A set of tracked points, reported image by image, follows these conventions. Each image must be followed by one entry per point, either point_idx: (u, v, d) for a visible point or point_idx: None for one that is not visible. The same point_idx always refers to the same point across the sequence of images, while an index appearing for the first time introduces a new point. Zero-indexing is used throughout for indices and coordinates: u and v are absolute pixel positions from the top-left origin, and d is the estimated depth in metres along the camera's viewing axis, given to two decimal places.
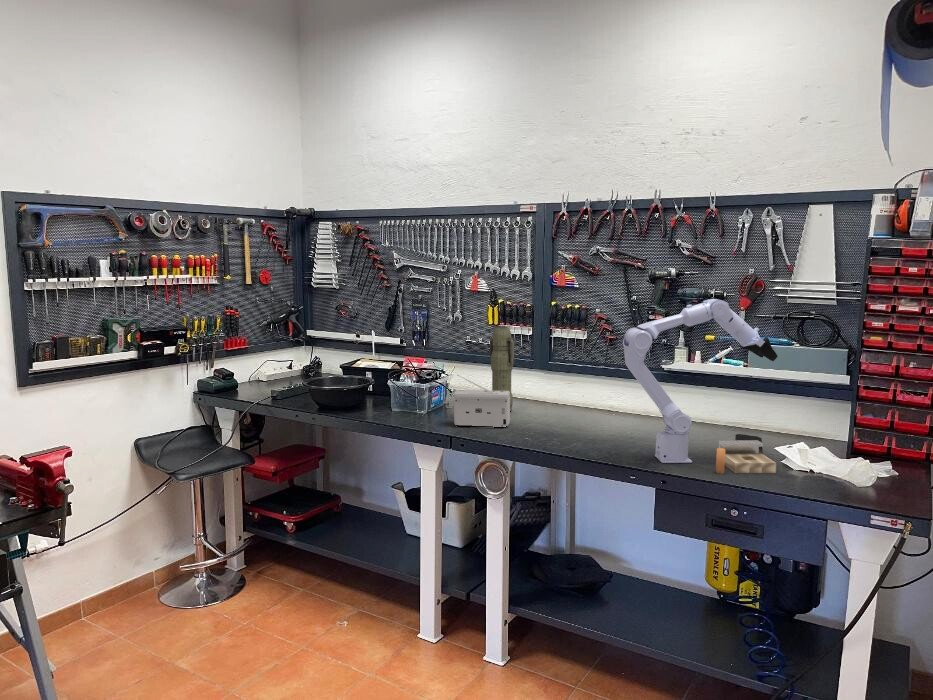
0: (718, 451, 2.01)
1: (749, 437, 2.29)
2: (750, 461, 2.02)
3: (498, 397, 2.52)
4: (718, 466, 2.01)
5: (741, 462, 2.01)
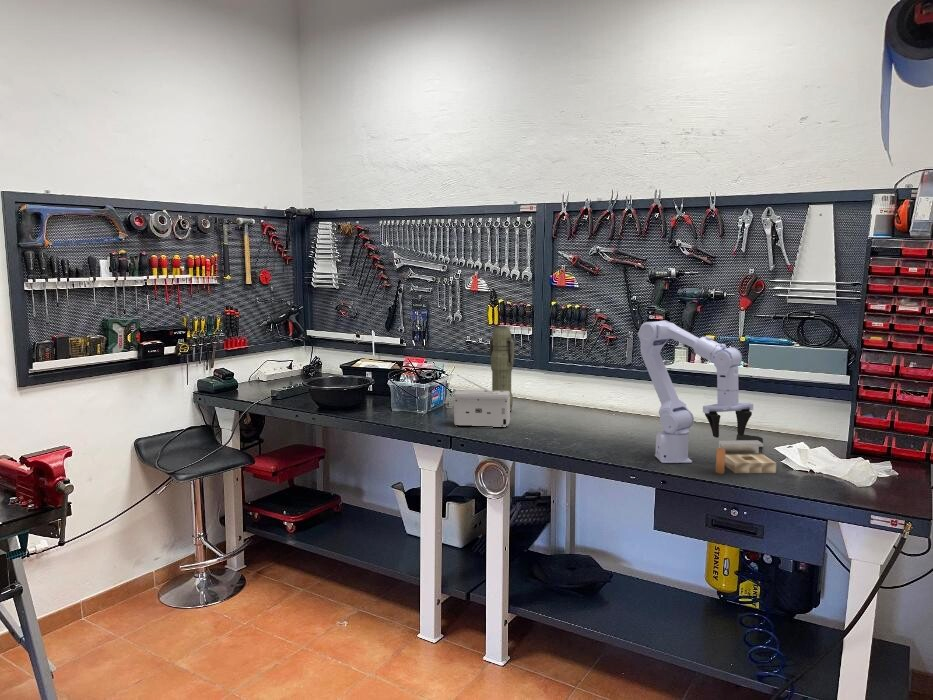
0: (718, 451, 2.01)
1: (750, 437, 2.29)
2: (750, 461, 2.02)
3: (498, 397, 2.52)
4: (718, 466, 2.01)
5: (741, 462, 2.01)
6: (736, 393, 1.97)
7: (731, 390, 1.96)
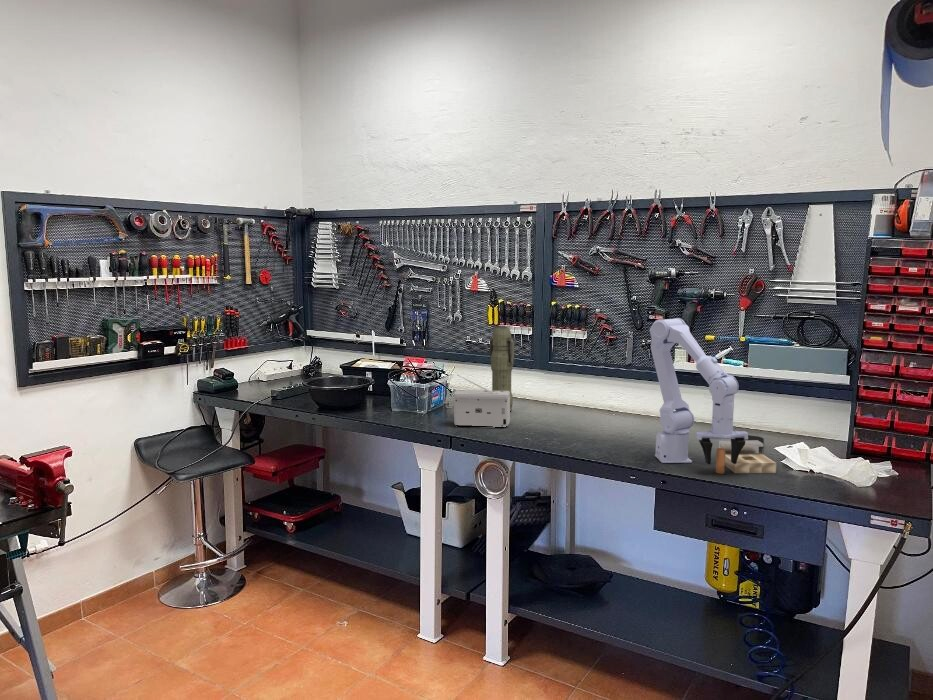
0: (718, 451, 2.01)
1: (751, 437, 2.29)
2: (750, 461, 2.02)
3: (498, 397, 2.53)
4: (718, 466, 2.01)
5: (741, 462, 2.01)
6: (730, 422, 1.97)
7: (725, 419, 1.97)
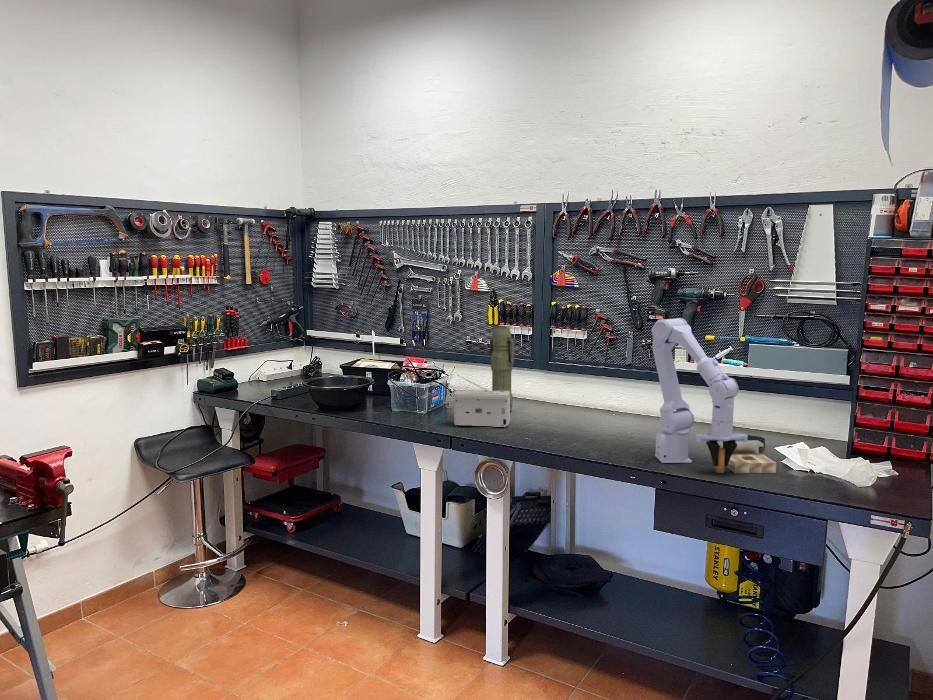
0: None
1: (752, 437, 2.29)
2: (750, 461, 2.02)
3: (498, 397, 2.52)
4: (718, 465, 2.01)
5: (741, 462, 2.01)
6: (730, 424, 1.98)
7: (725, 421, 1.97)
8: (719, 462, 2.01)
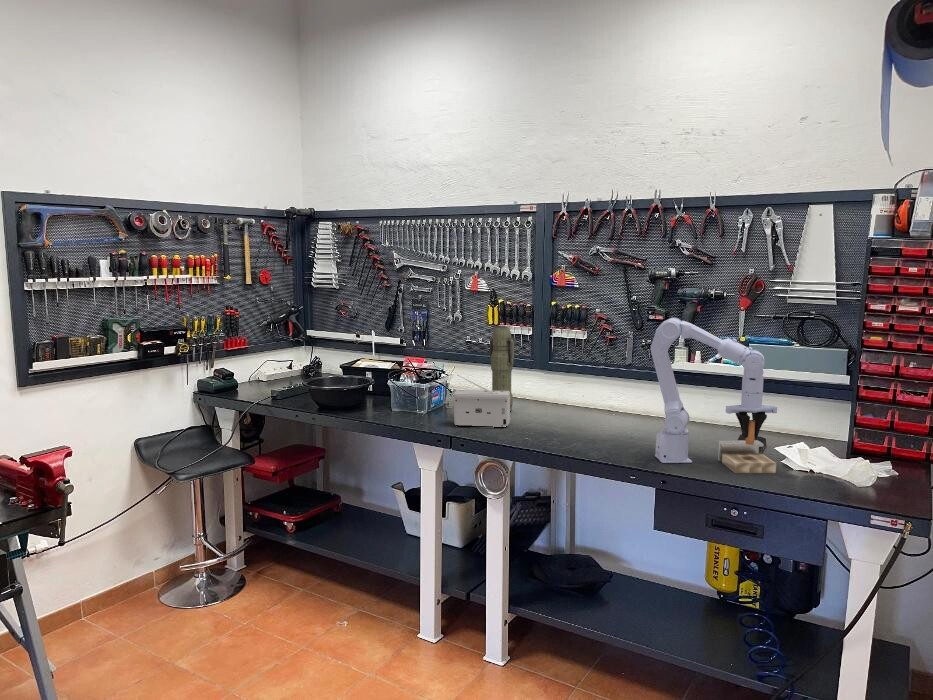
0: None
1: None
2: (750, 461, 2.02)
3: (498, 397, 2.53)
4: (748, 437, 2.04)
5: (741, 462, 2.01)
6: (760, 396, 2.01)
7: (759, 392, 2.00)
8: (749, 434, 2.04)
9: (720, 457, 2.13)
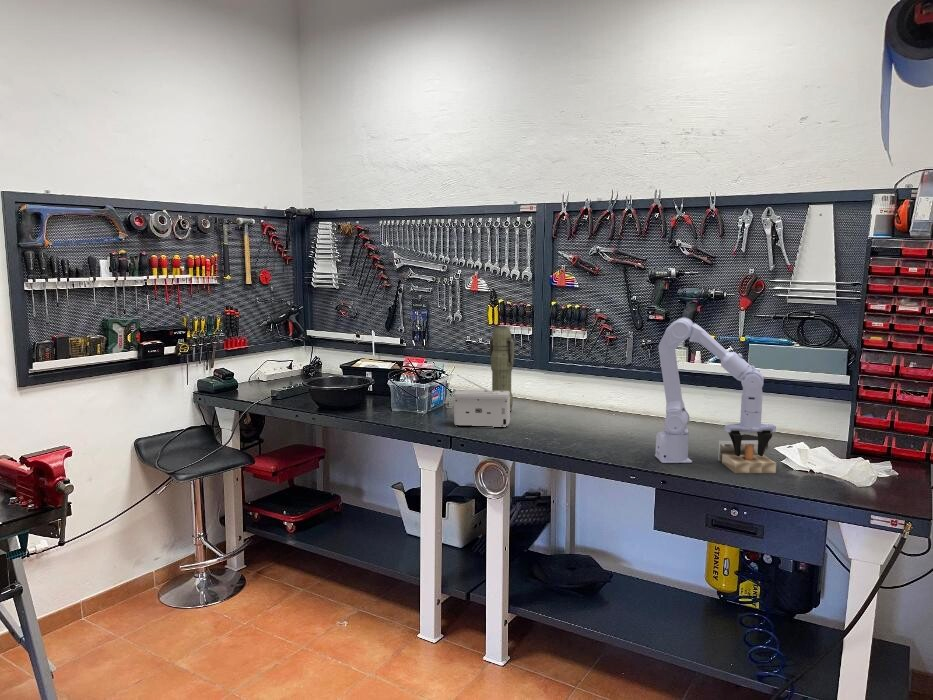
0: (746, 447, 2.04)
1: (755, 438, 2.29)
2: (750, 461, 2.02)
3: (498, 397, 2.52)
4: None
5: (741, 462, 2.01)
6: (759, 415, 2.01)
7: (758, 411, 2.01)
8: (747, 459, 2.05)
9: (720, 457, 2.13)
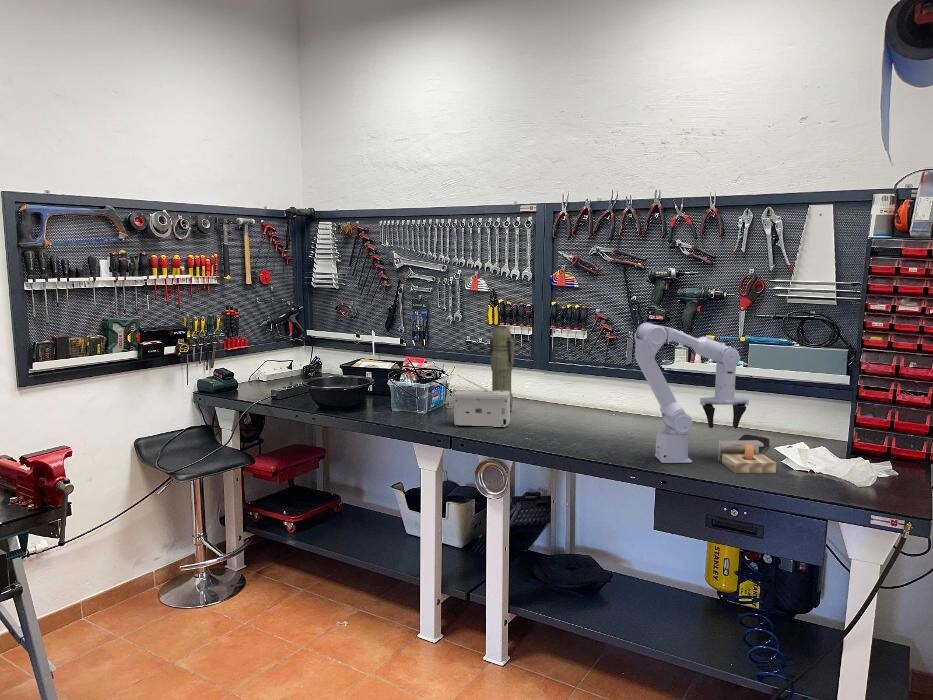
0: (746, 447, 2.04)
1: (756, 438, 2.28)
2: (750, 461, 2.02)
3: (498, 397, 2.52)
4: None
5: (741, 462, 2.01)
6: (732, 388, 2.11)
7: (734, 384, 2.12)
8: (747, 459, 2.05)
9: (720, 457, 2.13)
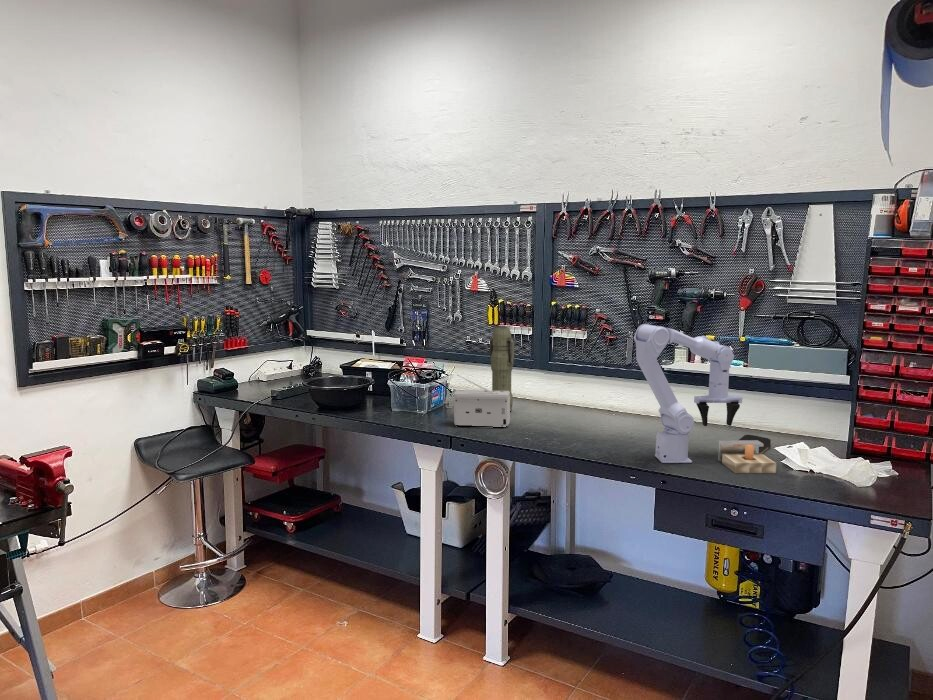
0: (746, 447, 2.04)
1: (757, 438, 2.28)
2: (750, 461, 2.02)
3: (498, 397, 2.52)
4: None
5: (741, 462, 2.01)
6: (725, 386, 2.13)
7: (728, 382, 2.15)
8: (747, 459, 2.05)
9: (720, 457, 2.13)
